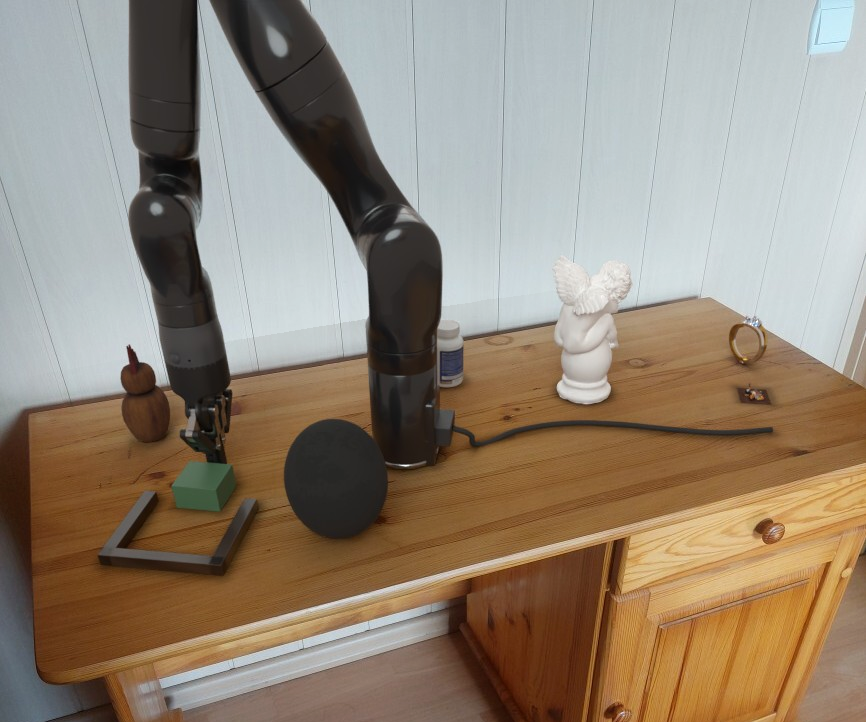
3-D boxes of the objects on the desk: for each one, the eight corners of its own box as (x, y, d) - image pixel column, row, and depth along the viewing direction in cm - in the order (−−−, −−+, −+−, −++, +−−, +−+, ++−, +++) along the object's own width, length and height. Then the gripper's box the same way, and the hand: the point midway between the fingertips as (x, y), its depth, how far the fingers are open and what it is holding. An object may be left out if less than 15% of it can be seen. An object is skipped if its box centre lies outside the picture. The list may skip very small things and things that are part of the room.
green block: (236, 486, 110) (232, 464, 108) (220, 511, 106) (215, 489, 103) (194, 482, 111) (189, 460, 109) (176, 507, 106) (171, 485, 104)
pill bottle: (469, 378, 135) (470, 322, 129) (452, 391, 131) (452, 334, 125) (441, 370, 137) (441, 315, 131) (424, 383, 133) (423, 326, 127)
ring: (764, 369, 137) (776, 323, 132) (749, 372, 136) (761, 327, 131) (735, 353, 142) (745, 308, 137) (720, 356, 140) (730, 311, 136)
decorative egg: (340, 574, 95) (329, 466, 86) (271, 533, 102) (254, 428, 93) (410, 526, 103) (407, 421, 94) (342, 490, 109) (332, 389, 100)
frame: (258, 508, 106) (256, 498, 105) (223, 576, 95) (220, 565, 94) (147, 500, 108) (144, 490, 107) (100, 565, 97) (97, 554, 96)
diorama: (744, 400, 128) (748, 388, 127) (741, 389, 131) (744, 377, 130) (764, 401, 128) (767, 389, 126) (760, 390, 131) (764, 378, 129)
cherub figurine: (612, 378, 134) (631, 243, 121) (628, 416, 124) (651, 273, 111) (538, 380, 134) (549, 244, 120) (549, 417, 124) (562, 274, 111)
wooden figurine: (160, 449, 118) (136, 352, 108) (123, 445, 119) (96, 349, 109) (180, 426, 123) (159, 332, 114) (145, 422, 124) (121, 328, 115)
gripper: (203, 378, 95) (228, 499, 106) (241, 331, 105) (260, 446, 116) (143, 374, 96) (173, 494, 107) (186, 328, 106) (210, 442, 117)
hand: (218, 469), depth 111 cm, fingers closed
